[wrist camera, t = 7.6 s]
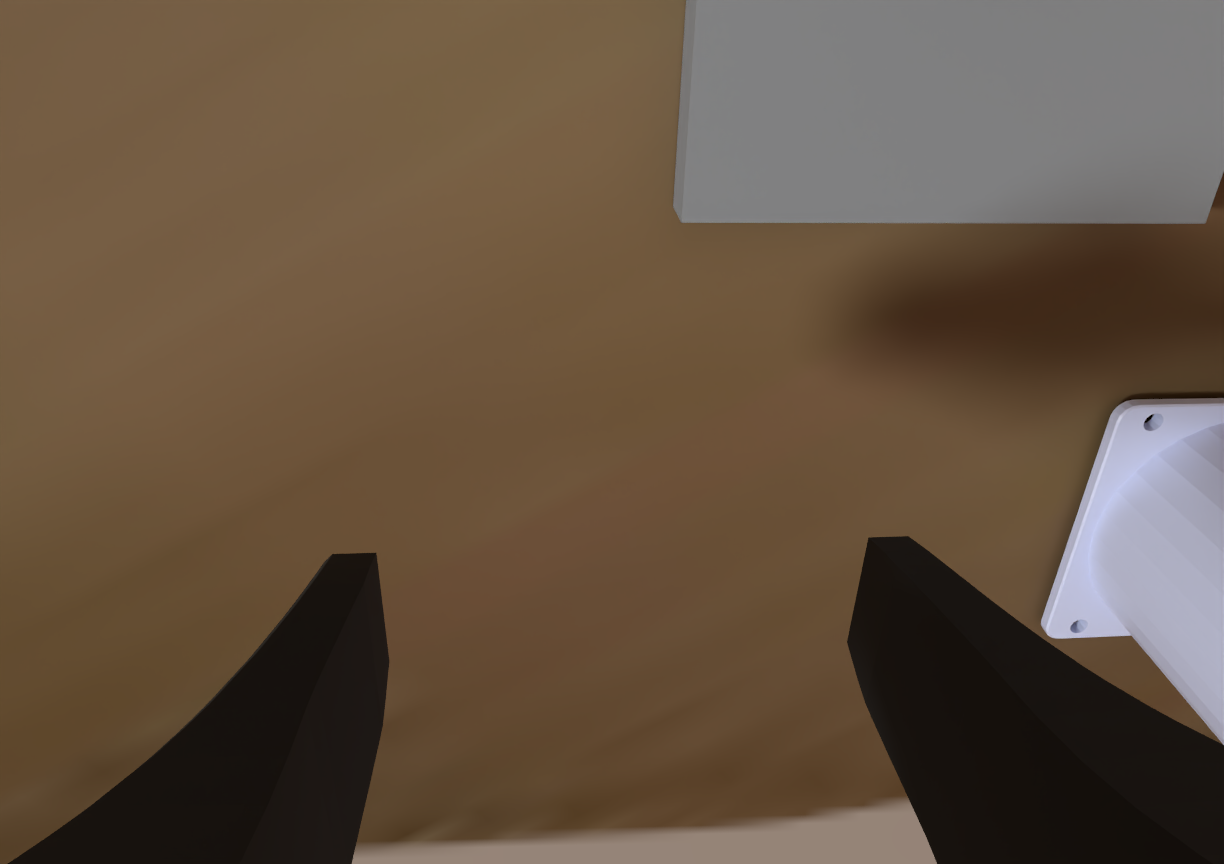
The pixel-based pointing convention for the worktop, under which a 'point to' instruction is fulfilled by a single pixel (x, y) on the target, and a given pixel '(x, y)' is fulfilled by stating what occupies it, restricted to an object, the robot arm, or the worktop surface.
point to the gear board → (950, 111)
